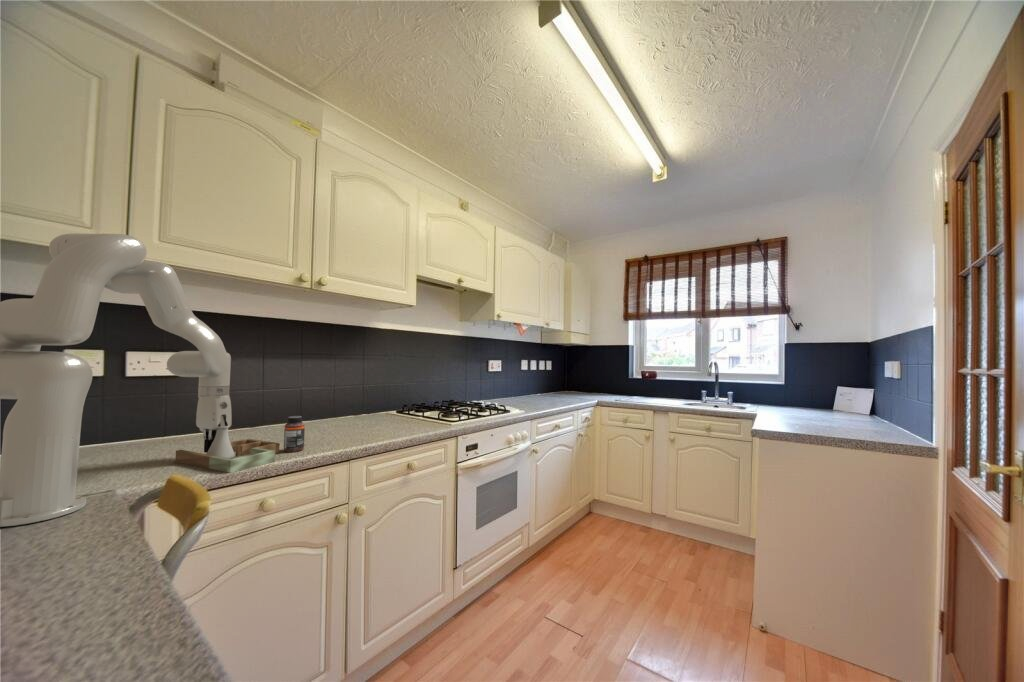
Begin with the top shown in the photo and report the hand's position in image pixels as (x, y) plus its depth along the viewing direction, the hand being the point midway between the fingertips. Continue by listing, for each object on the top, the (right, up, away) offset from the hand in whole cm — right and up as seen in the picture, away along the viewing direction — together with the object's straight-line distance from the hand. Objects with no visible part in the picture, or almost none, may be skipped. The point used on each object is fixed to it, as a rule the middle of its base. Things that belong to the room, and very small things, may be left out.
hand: (211, 451), depth 114 cm
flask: (+4, -2, -2) cm, 5 cm away
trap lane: (+9, -2, 0) cm, 9 cm away
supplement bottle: (+19, -3, +11) cm, 22 cm away
